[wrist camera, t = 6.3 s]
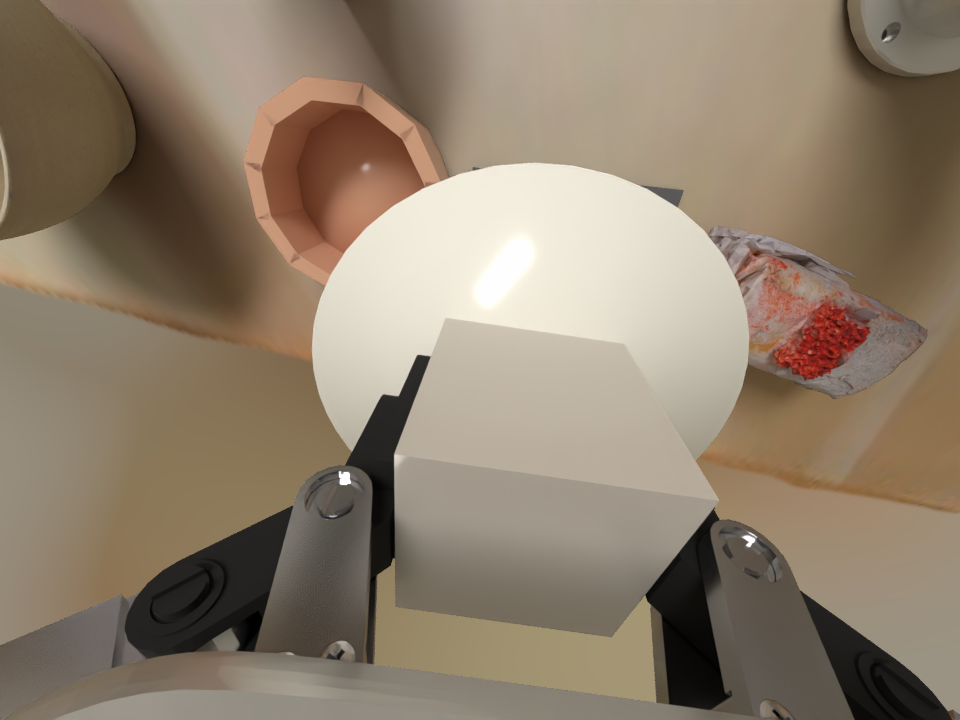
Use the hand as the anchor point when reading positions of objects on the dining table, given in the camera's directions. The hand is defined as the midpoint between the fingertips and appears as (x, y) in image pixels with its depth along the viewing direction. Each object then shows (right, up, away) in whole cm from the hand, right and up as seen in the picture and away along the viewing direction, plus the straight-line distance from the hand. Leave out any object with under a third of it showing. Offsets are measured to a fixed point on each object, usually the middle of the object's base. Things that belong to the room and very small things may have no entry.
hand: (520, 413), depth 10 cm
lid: (0, +1, +1) cm, 1 cm away
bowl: (-9, +14, +15) cm, 23 cm away
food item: (+20, +7, +18) cm, 28 cm away
